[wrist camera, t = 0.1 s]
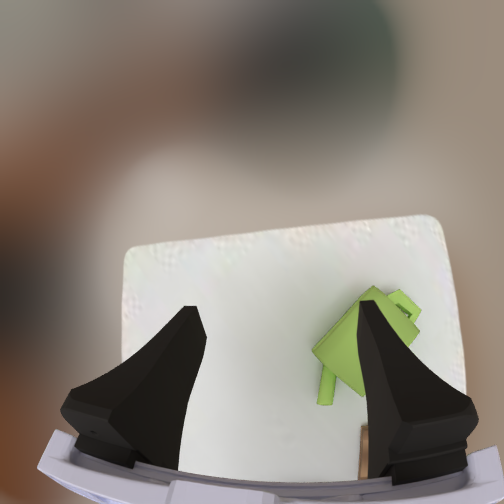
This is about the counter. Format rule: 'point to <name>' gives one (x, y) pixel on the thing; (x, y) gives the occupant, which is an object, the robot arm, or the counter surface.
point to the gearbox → (345, 341)
